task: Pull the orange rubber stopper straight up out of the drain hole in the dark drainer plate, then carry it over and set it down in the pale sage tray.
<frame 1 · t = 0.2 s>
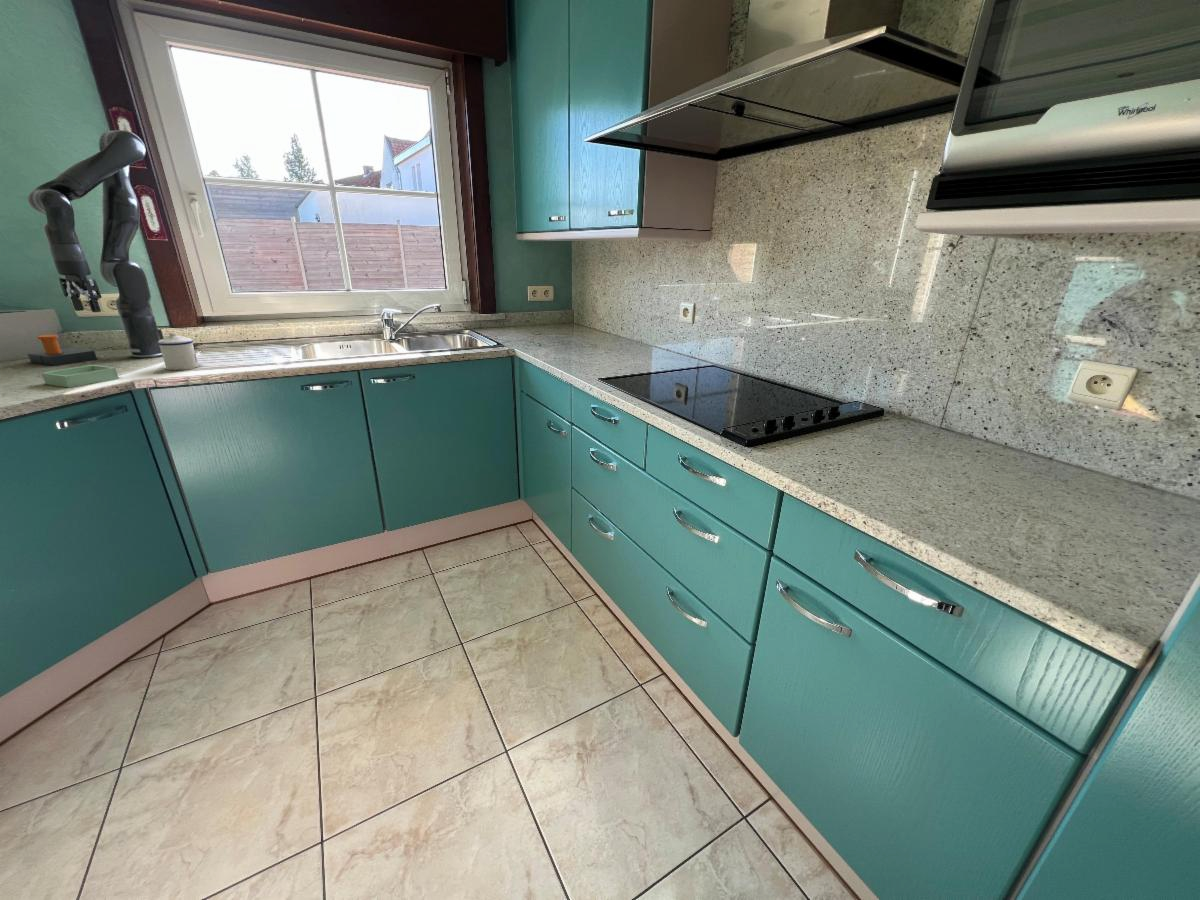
hand: (88, 311, 163), 17 cm above the worktop, tool pointing down, fingers open, 8 cm apart
tray: (83, 381, 147), on the worktop
drain plate: (64, 360, 170), on the worktop
teacup with lid: (180, 367, 167), on the worktop
plug: (57, 361, 169), resting in drain plate
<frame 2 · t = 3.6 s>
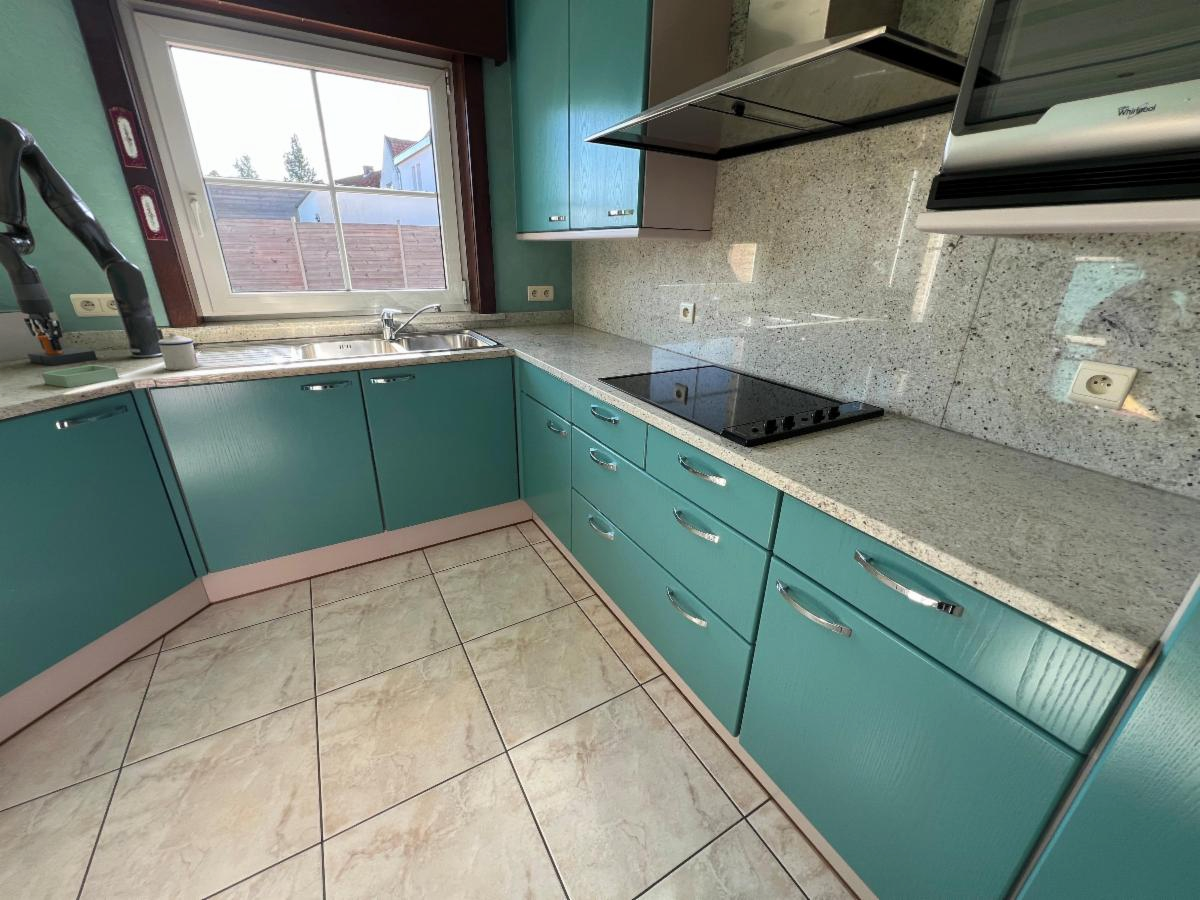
hand: (52, 349, 167), 4 cm above the worktop, tool pointing down, fingers closed on plug, 4 cm apart
plug: (57, 361, 169), resting in drain plate, touching gripper
everything else where it was.
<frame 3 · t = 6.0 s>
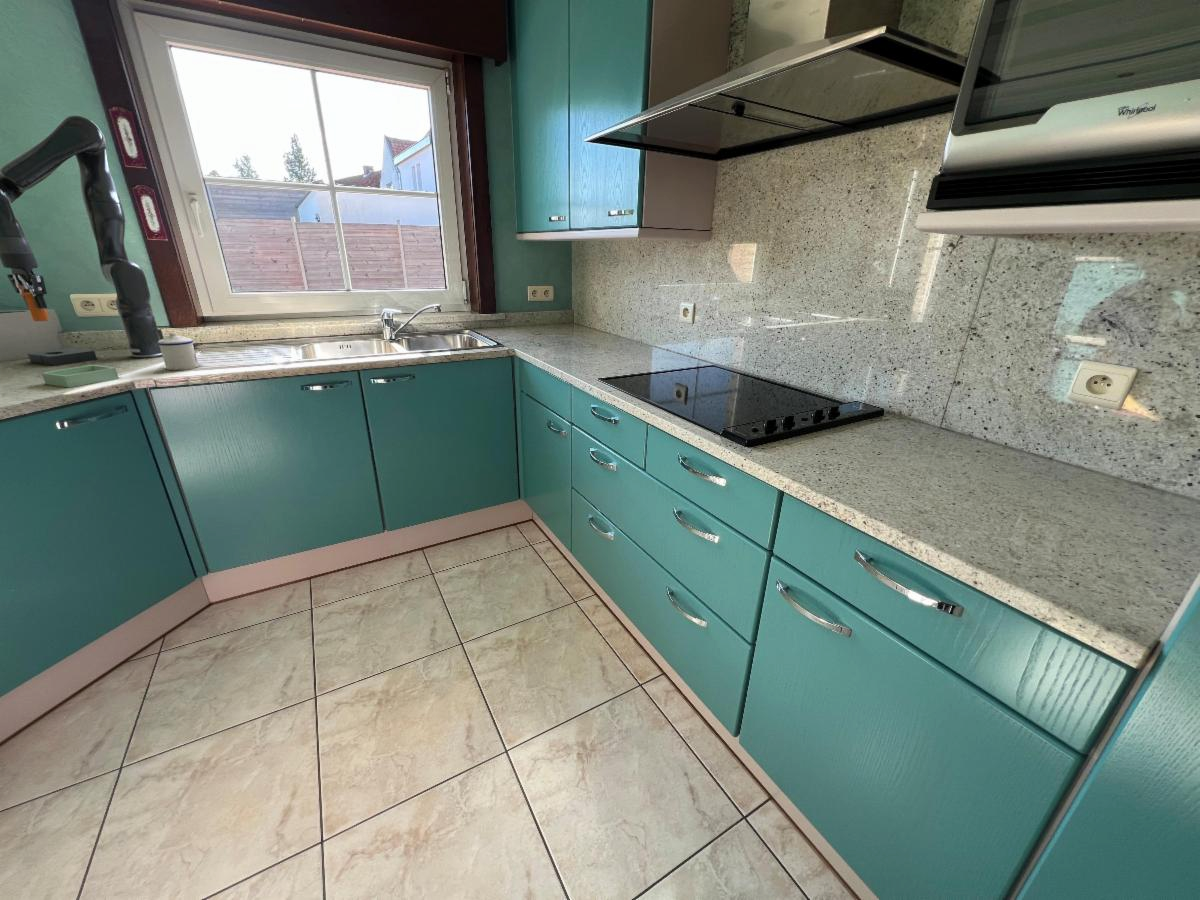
hand: (37, 307, 161), 18 cm above the worktop, tool pointing down, fingers closed on plug, 4 cm apart
plug: (41, 320, 162), point 14 cm above the worktop, touching gripper
everything else where it was.
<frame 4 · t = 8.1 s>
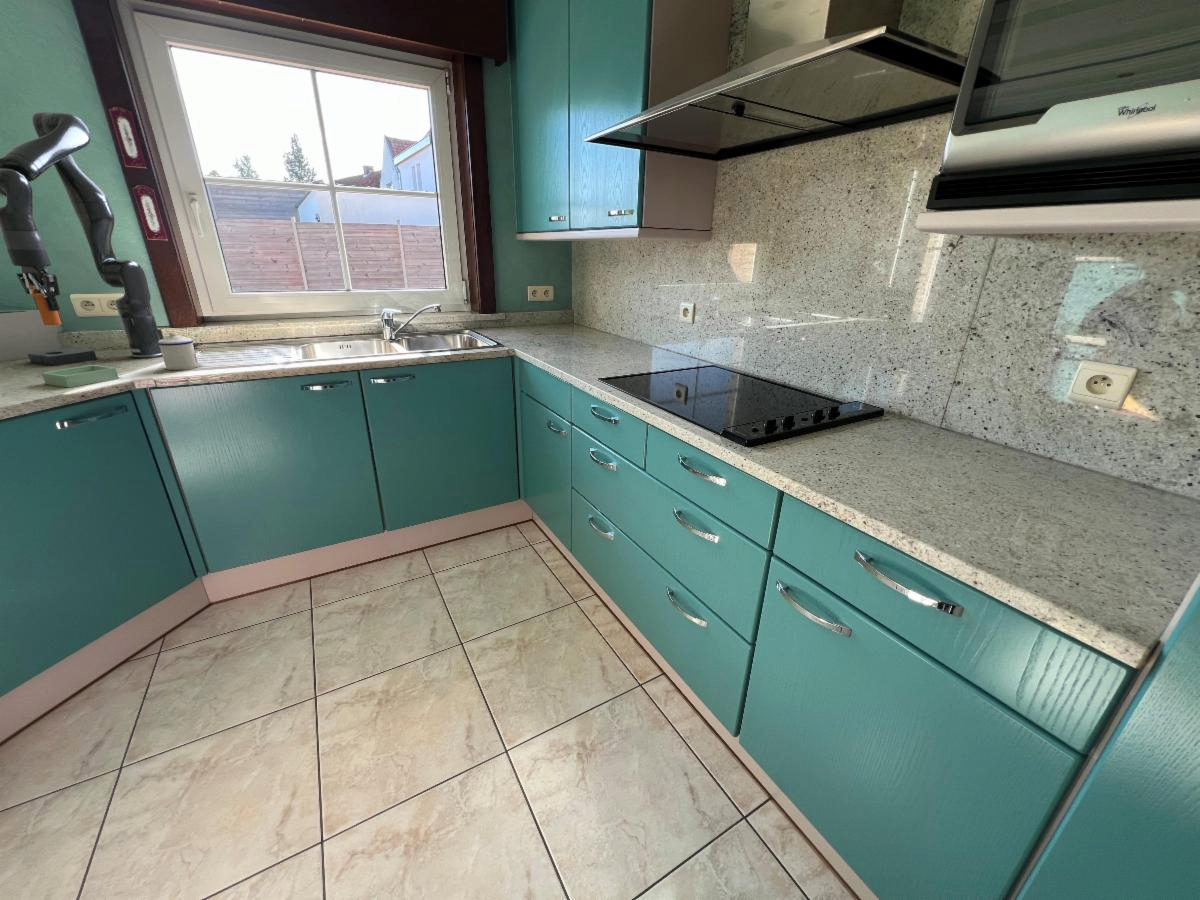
hand: (48, 310, 145), 20 cm above the worktop, tool pointing down, fingers closed on plug, 4 cm apart
plug: (52, 324, 146), point 16 cm above the worktop, touching gripper
everything else where it was.
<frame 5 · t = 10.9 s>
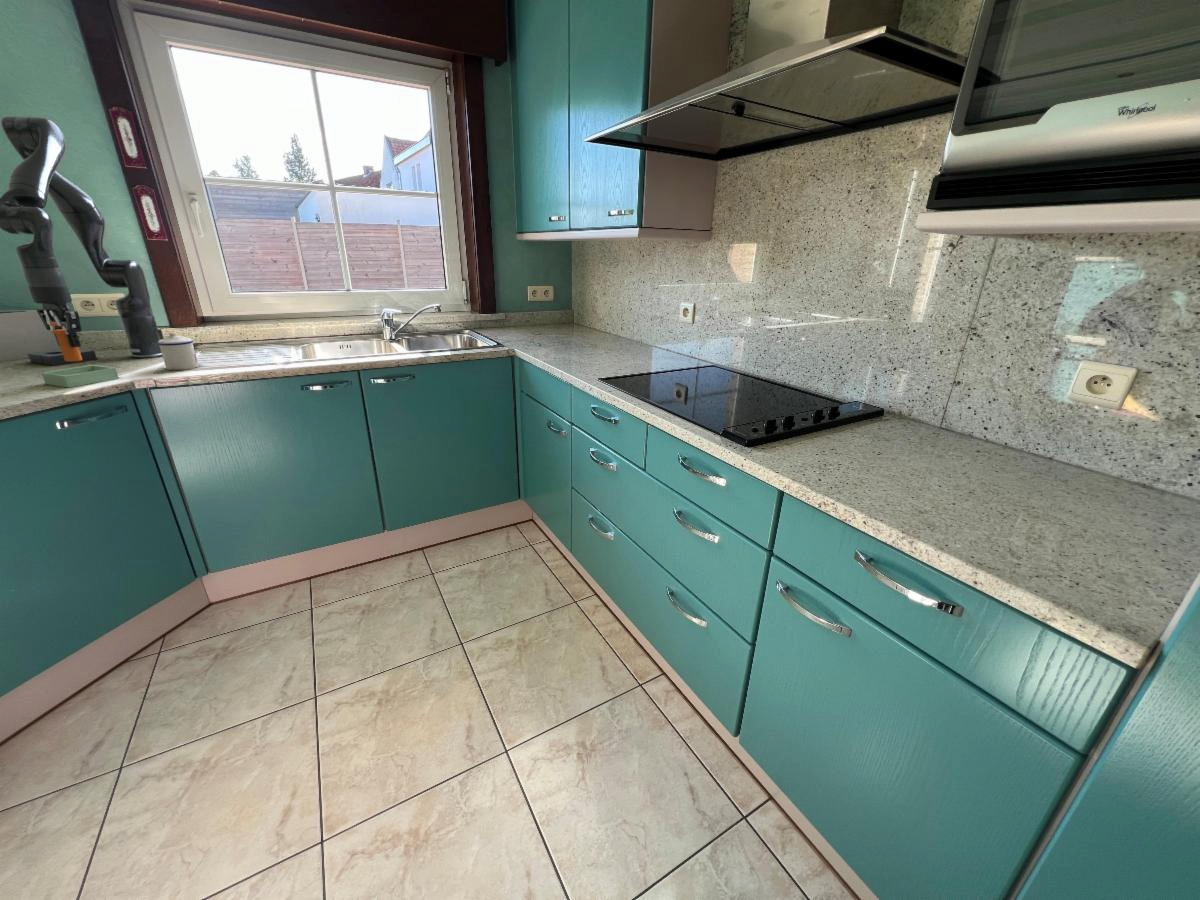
hand: (69, 346, 143), 10 cm above the worktop, tool pointing down, fingers closed on plug, 4 cm apart
plug: (73, 360, 144), point 6 cm above the worktop, touching gripper
everything else where it was.
when the fingers open (5 cm above the worktop, at t = 12.7 s): plug stays where it is, resting on tray.
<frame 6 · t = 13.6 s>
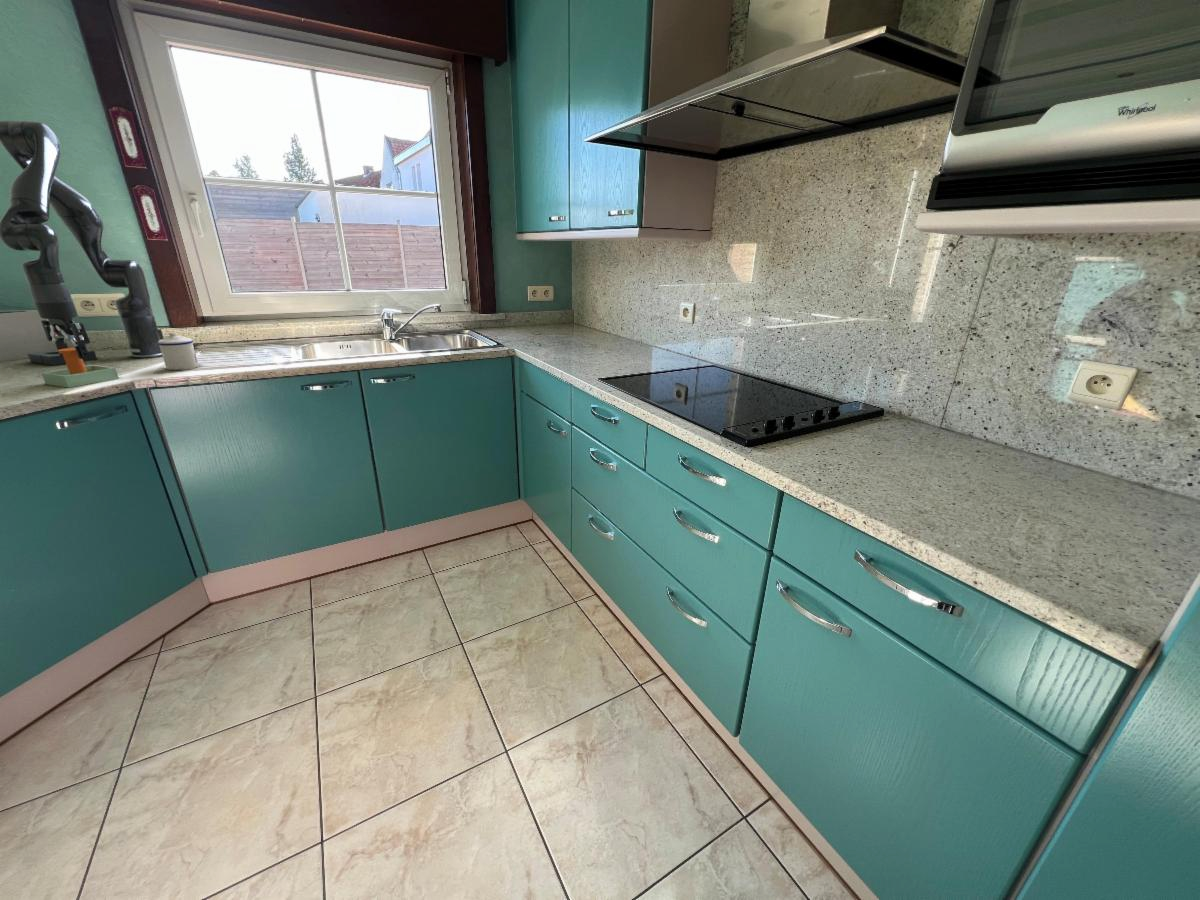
hand: (75, 357, 144), 7 cm above the worktop, tool pointing down, fingers open, 8 cm apart
plug: (80, 378, 146), point 1 cm above the worktop, touching tray
everything else where it was.
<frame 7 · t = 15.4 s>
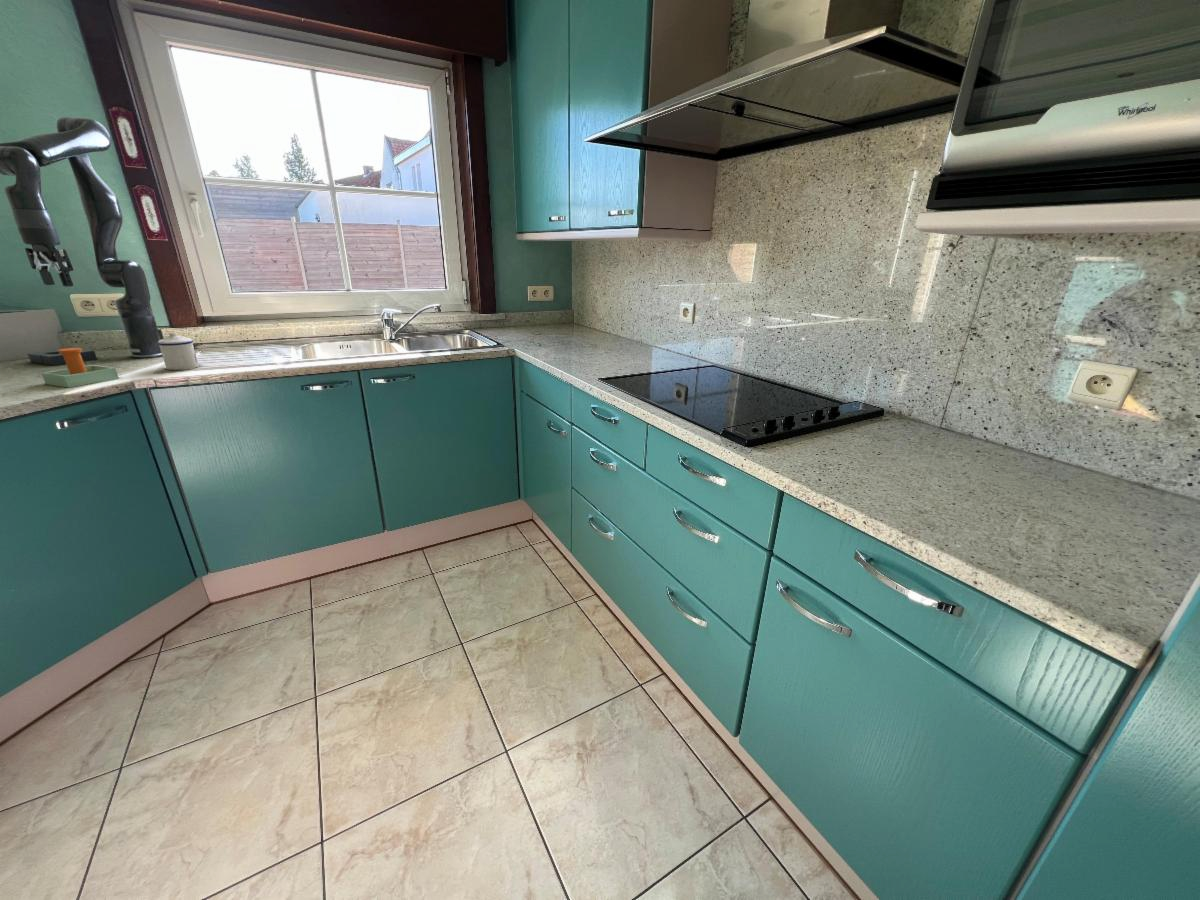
hand: (59, 285, 147), 26 cm above the worktop, tool pointing down, fingers open, 8 cm apart
nothing on the worktop moved.
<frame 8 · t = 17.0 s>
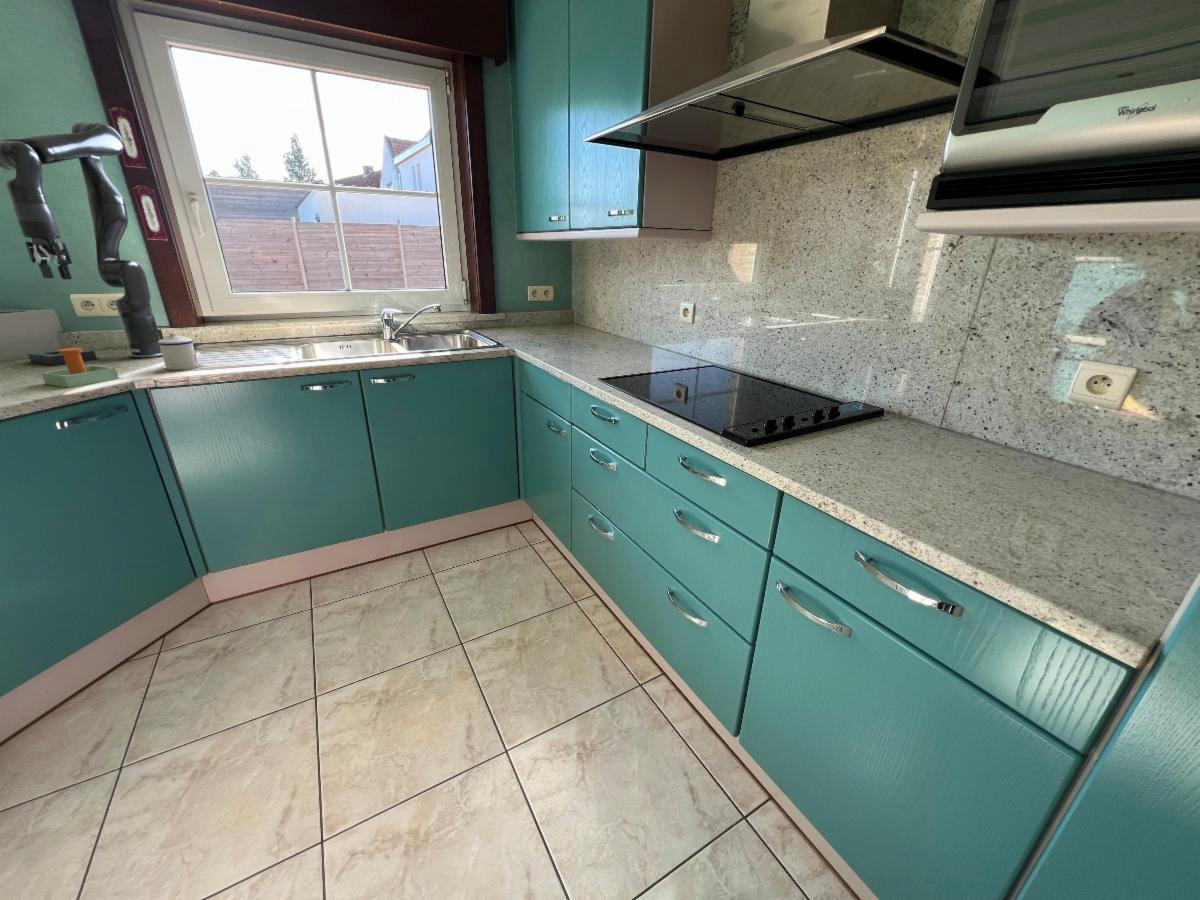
hand: (57, 278, 149), 28 cm above the worktop, tool pointing down, fingers open, 8 cm apart
nothing on the worktop moved.
at the end: plug inside the target area in the tray (0.4 cm from its centre), point 0.8 cm above the tray's base; plug moved 40.3 cm from its start; the gripper is holding nothing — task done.
